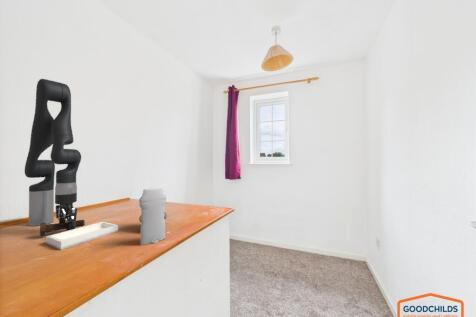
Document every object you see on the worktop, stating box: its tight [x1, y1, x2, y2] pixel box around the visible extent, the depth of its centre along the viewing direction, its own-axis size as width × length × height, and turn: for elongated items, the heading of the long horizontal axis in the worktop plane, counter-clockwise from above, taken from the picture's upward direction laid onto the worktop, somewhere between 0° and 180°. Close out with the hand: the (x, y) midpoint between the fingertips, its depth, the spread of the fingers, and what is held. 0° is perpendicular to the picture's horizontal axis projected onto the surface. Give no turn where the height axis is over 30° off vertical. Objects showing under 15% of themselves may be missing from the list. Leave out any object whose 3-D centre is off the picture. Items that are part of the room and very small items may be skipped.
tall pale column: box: [139, 186, 167, 246], centre depth 80 cm, size 11×4×22 cm, turn 134°
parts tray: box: [45, 221, 119, 251], centre depth 84 cm, size 12×21×3 cm, turn 153°
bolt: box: [39, 219, 86, 237], centre depth 89 cm, size 6×5×15 cm
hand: (65, 229), depth 90 cm, fingers closed on bolt, 6 cm apart
